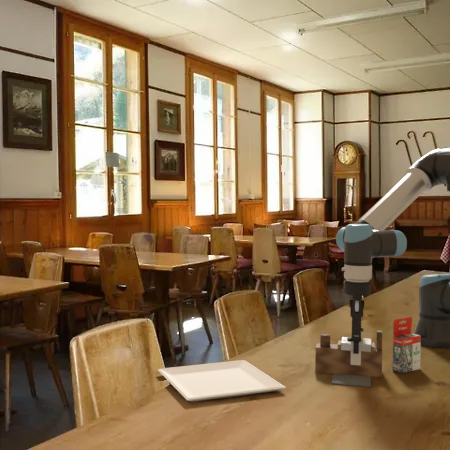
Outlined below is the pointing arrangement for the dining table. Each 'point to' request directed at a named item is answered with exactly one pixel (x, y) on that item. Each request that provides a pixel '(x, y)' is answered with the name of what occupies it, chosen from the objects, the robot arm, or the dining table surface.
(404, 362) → the ink box
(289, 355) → the dining table surface
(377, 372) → the body
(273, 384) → the plate
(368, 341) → the lever cap
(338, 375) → the rubber mat
